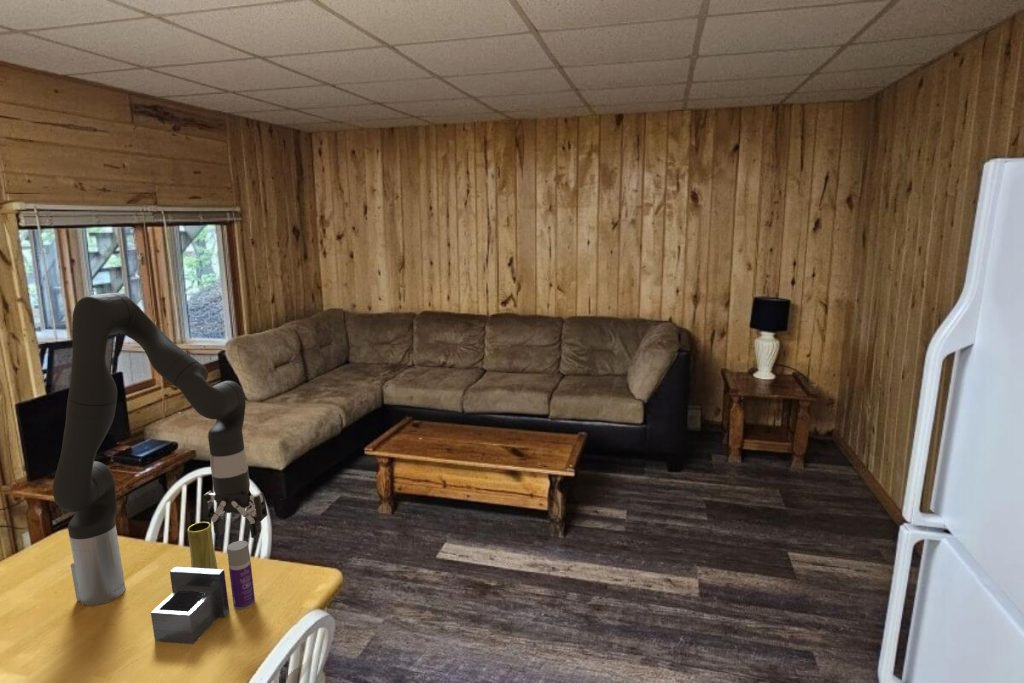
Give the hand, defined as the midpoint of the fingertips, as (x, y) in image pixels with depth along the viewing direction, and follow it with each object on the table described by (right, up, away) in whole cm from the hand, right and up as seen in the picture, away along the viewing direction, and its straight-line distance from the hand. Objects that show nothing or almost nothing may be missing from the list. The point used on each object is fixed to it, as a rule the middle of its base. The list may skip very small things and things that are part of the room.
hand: (238, 535), depth 142 cm
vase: (-14, -16, +14) cm, 26 cm away
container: (0, -17, +4) cm, 18 cm away
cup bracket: (-9, -19, -4) cm, 21 cm away
